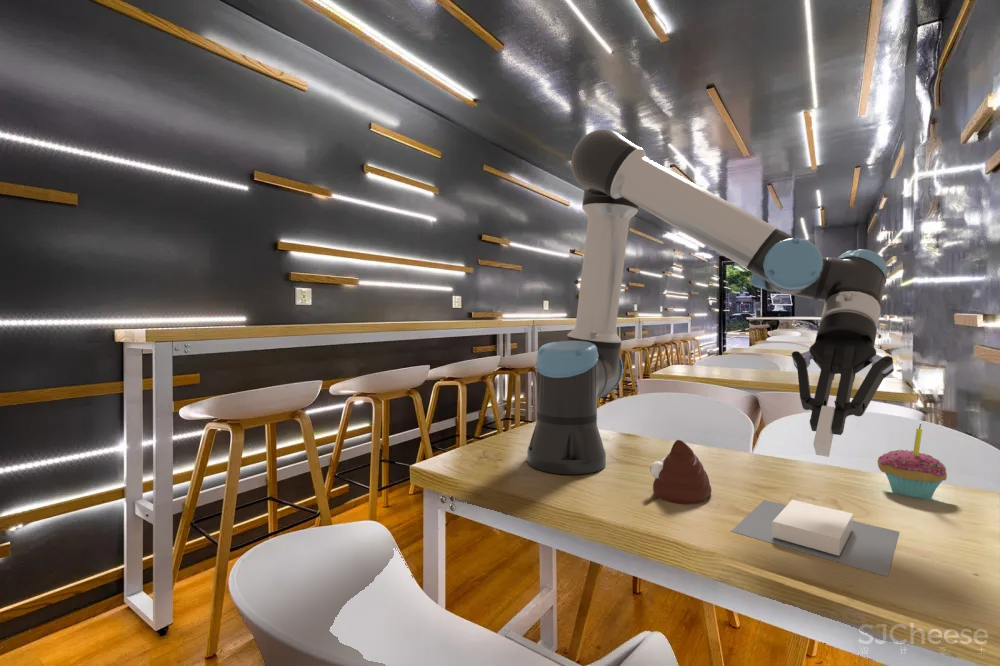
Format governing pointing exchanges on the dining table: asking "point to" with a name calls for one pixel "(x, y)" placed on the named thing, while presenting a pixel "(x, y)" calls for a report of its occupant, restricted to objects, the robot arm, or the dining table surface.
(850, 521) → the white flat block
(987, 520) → the dining table surface
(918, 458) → the cupcake
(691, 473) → the poop emoji
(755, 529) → the slate board
